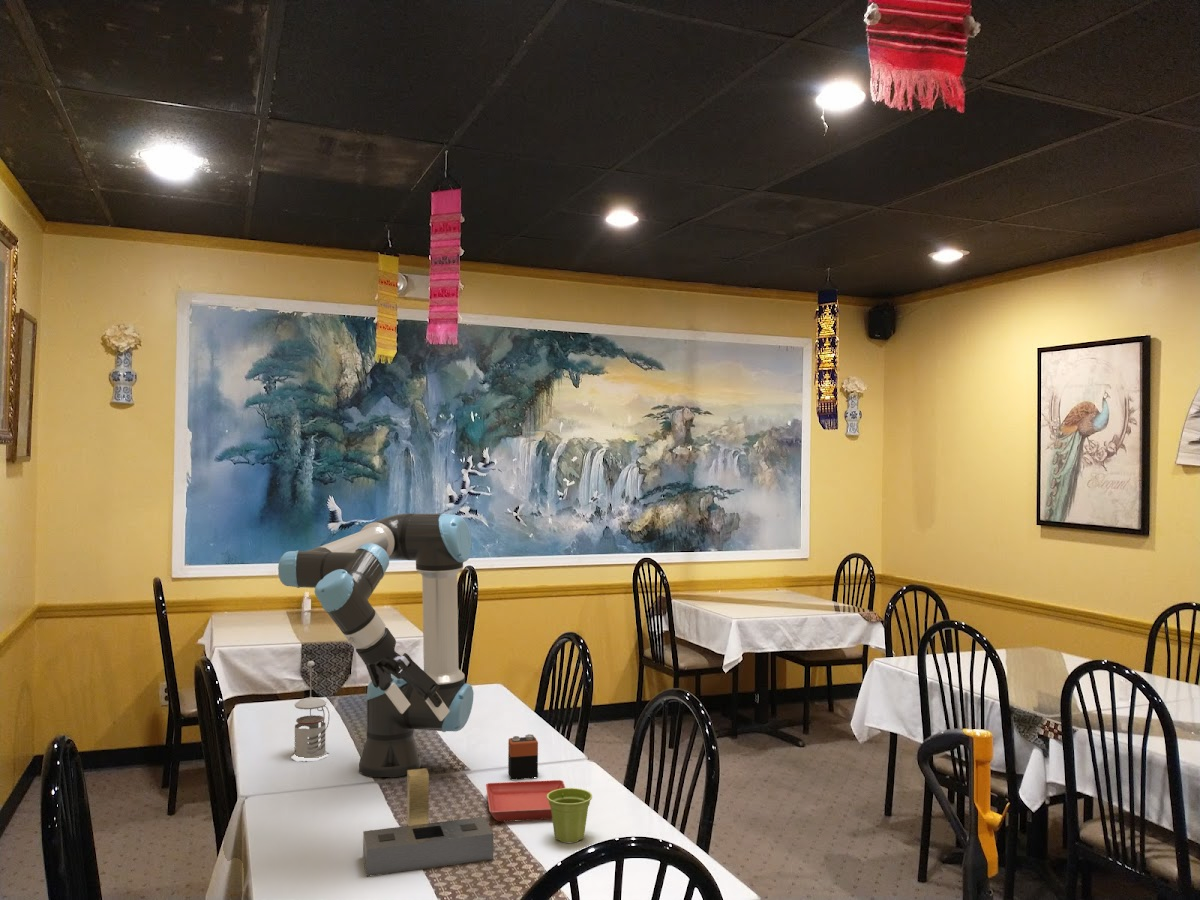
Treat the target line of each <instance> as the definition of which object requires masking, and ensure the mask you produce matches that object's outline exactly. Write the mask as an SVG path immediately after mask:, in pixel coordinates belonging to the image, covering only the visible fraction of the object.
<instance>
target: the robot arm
mask: <svg viewBox="0 0 1200 900" xmlns="http://www.w3.org/2000/svg"><path fill="white" fill-rule="evenodd" d="M471 550H472V535H471V532H470V528H469V525H468V523H467V522H466V520H465V519H464V518H463V517H462V516H461V515H458V514H449V513H410V512H409V513H399V514H395V515H391V516H388V517H387V516H386V517H383V518H381V519H378V520H375V521H373V522H370V523H367V524H366V525H365V526H363V527H362V529H361V530H360V531H358V532H356V533H352V534H350V535H347V536H344V537H342V538H339V539H336V540H333V541H331V542H328V543H325V544H323V545H320V546H317V547H315V548H312V549H311V548H310V549H309V550H303V551H301V550H299V549H298V550H291V551H287V552H284V553H283V554H282V556H281V557H280V559H279V561H278V566H277V570H278V571H277V572H278V574H277V575H278V578H279V581H280V582H281V583H282V585H283V586H286V587H291V588H292V587H294V588H298V589H299V588H311V589H314V595H315V597H316V598H317V600H318V602H319V603H320V605H321V608H322V609H323V610H324V611H326V613H327V614H328V616H329V617H330V618H331V619H332V621H333V622H334V624H335V625H336V626H337V627H338V629H339V630H340V631H341V633H342V634H343V636H344V637H345V638H346V639H347V640H346V643H348V645H351V646H352V647H353V649H355V652H356V653H357V654H358V656H359V657H360V659H361V660H362V661H363V663H364V665H365V666H366V669H367V672H368V675H369V677H370V680H371V681H370V682H369V683H368V685H367V690H366V691H367V692H366V697H365V700H366V740H365V742H364V746H363V749H362V753H361V756H360V759H359V764H358V771H359V773H360V772H361V773H360V774H362V775H363V776H366V777H370V776H371V777H372V778H377V777H390V778H397V777H404V776H407V770H414V769H421V755H420V753H419V752H418V746H417V742H416V739H415V735H414V734H415V731H414V730H421V731H422V730H425V731H434V732H442V733H446V732H459V731H461V730H462V729H464V727H465V726H466V724H467V723H468V721H469V719H470V716H471V712H472V708H473V703H474V694H475V693H474V689H473V685H471V684H470V683H466V682H465V681H466V680H465V679H466V677H465V673H464V672H463V671H462V670H460V668H459V620H458V619H459V616H458V614H459V612H458V574H459V573H460V572H461V571H462V570H463V569H464V563H465V562H467V561H468V560H469V559H470V557H471V553H472V552H471ZM390 560H400V561H415V570H416V571H417V572H418V573H419V574H420V575H421V576H422V577H421V579H422V583H421V584H422V585H421V586H422V587H421V588H422V638H423V640H422V641H423V644H422V645H423V646H422V647H423V669H422V667H420V666H419V665H418V664H417V663H416V662H414V660H413V659H412V658H411V656H410V655H409V654H408V653H406V652H405V653H403V654H402V655H400V654H399V653H398V652H396V651H395V648H396V644H397V640H396V638H395V636H394V635H393V633H392V632H391V630H389V628H388V627H386V624H385V622H384V621H383V619H382V618H381V617H380V615H379V613H378V612H377V611H376V610H375V609H374V607H373V606H372V604H371V603H370V602H369V599H370V597H371V595H372V594H373V593H374V590H375V589H377V587H378V585H379V583H380V582H381V580H383V578H384V577H385V573H386V572H387V569H388V567H389V565H390ZM371 777H370V778H371Z"/></svg>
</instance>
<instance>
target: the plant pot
mask: <svg viewBox="0 0 1200 900" xmlns="http://www.w3.org/2000/svg"><path fill="white" fill-rule="evenodd" d="M547 799H548V800H549V805H550V807H551V812H552V819H551V820H552V826H553V827H552V828H553V833H554V839H555V840H556V841H560V842H561V843H565V844H567V843H569V844H570V843H572V844H573V843H577V842H579V841H580V840H583V839H584V838H585V833H586V824H587V818H588V817H587V816H588V810H589V806H590V803H591V800H592V799H593V794H592V793H591V792H590V791H588V790H586V789H582V788H575V787H565V788H562V789H557V790H553V791H551V792H549V793H548V794H547Z"/></svg>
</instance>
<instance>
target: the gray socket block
mask: <svg viewBox="0 0 1200 900" xmlns="http://www.w3.org/2000/svg"><path fill="white" fill-rule="evenodd" d="M362 833H363V835H362V838H363V839H362V840H363V841H362V858H363V863H364V868H365V869H366V870H365V869H364V870H365V873H366V874H367V875H366V877H371V876H370V875H374V876H379V875H378V874H382V875H387V874H386V873H389V874H395V873H394V872H397V873H403V872H402V871H404V872H411V871H418V870H425V869H431V868H439V867H448V866H456V865H461V864H462V863H463V864H469V862H470V863H475V862H476V863H477V861H478V862H483V861H484V862H485V861H491V860H494V832H493V831H492V828H491V827H490V825H489V823H488V821H487V820H486V817H485V816H480V817H472V818H471V817H470V818H462V819H455V820H447V821H439V822H438V821H437V822H429V823H428V824H420V825H412V826H407V825H405V826H397V827H388V828H387V827H386V828H380V829H373V830H363V832H362ZM463 864H462V865H463ZM447 865H448V866H447ZM410 870H411V871H410Z"/></svg>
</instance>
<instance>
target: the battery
mask: <svg viewBox="0 0 1200 900" xmlns="http://www.w3.org/2000/svg"><path fill="white" fill-rule="evenodd" d="M507 744H508V746H507V747H508V748H507V750H508V757H507V758H508V759H507V761H508V764H507V766H508V767H507V769H508V770H507V773H508V776H509V779H510V780H511V779H517V780H525V779H524V778H530V779H535V778H534V777H537V778H538V777H539V766H538V765H539V741H538V740H537V737H536V736H535V735H534V734H530V733H528V734H526V735H525V736H523V737H522V736H521V737H520V736H518V735H516V736H515V735H514V736H512V737H511V738H508V743H507Z"/></svg>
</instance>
